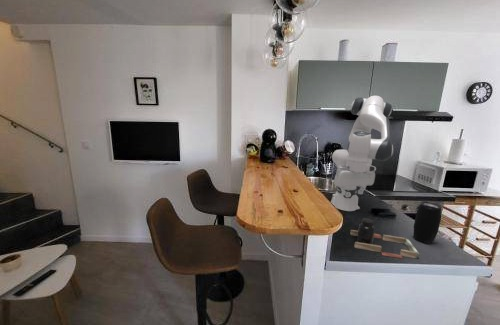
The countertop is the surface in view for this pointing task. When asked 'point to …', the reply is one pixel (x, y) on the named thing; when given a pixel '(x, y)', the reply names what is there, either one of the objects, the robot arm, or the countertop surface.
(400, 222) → the countertop surface
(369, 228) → the supplement bottle
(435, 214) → the portable speaker
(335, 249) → the countertop surface
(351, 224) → the countertop surface
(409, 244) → the channel
